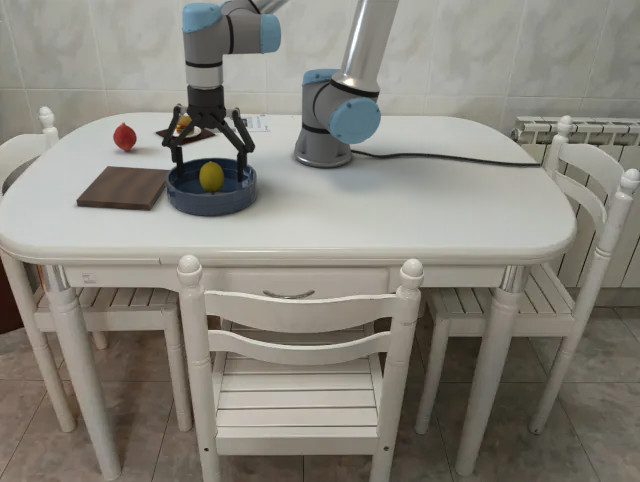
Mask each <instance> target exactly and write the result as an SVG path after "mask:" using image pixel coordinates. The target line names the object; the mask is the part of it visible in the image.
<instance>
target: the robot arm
mask: <svg viewBox="0 0 640 482" xmlns="http://www.w3.org/2000/svg"><path fill="white" fill-rule="evenodd" d="M290 1H291V0H224V1H223V2H222V3H220V4H219V5H218V4H217V3H211V2H192V3H188V4H185V5H184V6H183V8H182V10H181V13H182V15H181V17H182V19H181V20H182V21H181V23H182V28H181V31H182V39H183V47H184V48H183V52H184V62H185V63H184V64H185V65H184V66H185V80H186V84H187V86H186V93H187V106H184V105H182V104H181V103H177V104H176V105H175V106H174V107H173V110H172V118H171V119H170V120H171V121H170V123H169V126H168V127H167V129H168V130H167V132H166V134H165V136H164V137H163V139H162V141H161V146H162V147H163V148H168V149H169V150H170V154H171V162H172V163H173V164H176V165H175V166H177V176H178V178H181V177H182V176H183V174H184V166H183V163H184V156H183V146H182V145H181V146H179V144H180V143H181V142H182V141H183V139H184V138H185V137H186V136H187V135H188V134H189V132H190V131H191V130H192V129H193V128H194V127H195V126H197V127H199V128H200V129H207V130H215V129H217V130H218V131H219V132H220V133H222V135H223V136H224V137H225V138H226V139H227V140H228V141H229V143H230V144H231V145H232V146H233V147H234V149H236V150H237V154H236V160H237V178H238V182H241V181H242V179H243V168H246V165H247V164H248V154H253V153H254V151H255V150H256V144H255V142H254V140H253V139H252V136H251V135H250V133H249V131H248V128H247V126H246V125H245V122H244V121H243V119H242V116H241V110H240V108H239V107H237V106H236V107H234V108H231V109H230V108H229V109H227V108H226V105H225V88H224V85H223V84H224V82H225V81H224V55H225V56H226V55H228V56H229V55H254V54H256V55H259V54H261V55H264V54H270V53H277V51H278V50H279V49H280V46H281V44H282V28H281V23H280V20H279V18H278V17H277V15H275V13H277V12H278V11H279V10H280V9H282V8H283V7H284V6H285V5H286V4H288V3H289V2H290ZM399 3H400V0H357V3H356V7H355V11H354V15H353V19H352V22H351V26H350V30H349V34H348V37H347V42H346V46H345V50H344V54H343V58H342V61H341V66H340V68H315V69H309V70H307V71H305V72H304V74H303V75H302V76H303V77H302V84H301V87H302V91H301V129H300V131H299V135H298V138H297V140H296V142H295V144H294V145H295V146H294V151H293V154H294V159H295V160H296V161H297V162H299V163H301V164H303V165H305V166H309V167H313V168H320V169H323V168H324V169H327V168H329V169H330V168H336V167H340V166H344V165H346V164H347V163H349V162H350V161H351V158H352V154H356V155H361V156H367V157H369V158H374V159H389V158H396V157H428V158H440V159H450V160H458V161H467V162H474V163H481V164H482V163H483V164H489V165H490V164H491V165H500V166H508V167H509V166H510V167H541V166H542V165H541V163H540V162H537V163H536V162H534V163H533V162H509V161H497V160H490V159H489V160H488V159H482V158H481V159H480V158H472V157H465V156H457V155H448V154H439V153H425V152H424V153H423V152H399V153H398V152H397V153H389V154H374V153H369V152H366V151H361V150H357V149H356V150H355V149H351V145H357V144H361V143H364V142H365V141H367V140H368V139H370V138H371V137H372V136H373V135H374V134H375V133H376V132H377V130H378V128H379V127H380V124H381V120H382V119H381V118H382V113H381V110H380V107H379V105H378V99H379V96H380V92H381V87H380V85H379V83H378V81H377V80H378V77H379V76H378V75H379V72H380V68H381V66H382V62H383V59H384V55H385V51H386V47H387V44H388V41H389V38H390V34H391V30H392V27H393V24H394V20H395V16H396V14H397V10H398V7H399ZM185 113H186V115H187V116H189V117H190V118H191V119H192V121H191V122H190V123H189V124H188V125H187V127H186V128H185V129H184V130H183V131H182V132H181V134H180V135H179V136H178V137H177V138H176V139H175V141H172V140H171V138H172V136H173V134H174V131H175V129H176V127H177V125H178V122H179V120H180V118H181V116H185ZM226 116H227V117H229V119H230V121H232V122H233V124H234V127H235V128H236V130H237V132H238V134H239V136H240V137H239V136H238V134H236V133H235V131H234V130H233V129H232V128H231V127H230V125H229V123H228V122H227V121H226V120H225V118H226Z"/></svg>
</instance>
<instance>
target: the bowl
mask: <svg viewBox="0 0 640 482" xmlns="http://www.w3.org/2000/svg"><path fill="white" fill-rule="evenodd" d="M210 161H212V162H214V163H216V164H218V165H219V166H220V167H221V168H222V170H223V173H224V184H223V187H222V188H221V189H220V190H219V191H217V192H215V193H214V194H212V193H210V192H207V191H206V190H204V189H203V188H202V186H201V183H200V179H199V176H200V170H201V168H202V167H203V165H205V164H206V163H209V162H210ZM183 166H184V174H183V176H182V177H181V178H178V176H177V165H175V166H174V167H172V168H171V169H169V170H170V171H169V172H168V173H167V175H166V186H165V188H166V194H167V196H166V197H167V200H168V202H169V203H170V205H172V207H174V208H175V209H177V210H180V211H182V212H184V213H188V214H191V215H195V216H196V215H197V216H210V217H211V216H221V215H228V214H232V213H235V212H238V211H241V210H243V209H245V208H246V207H248V206H249V205H251V204H252V203H253V202H254V201H255V200H256V199H257V196H258V175H257V171H256V170H255V168H254V167H253V166H252V165H250V164H248V163H247V165H246V168H243V179H242V181H241V182H238V178H237V159H233V158H227V157H202V158H196V159H191V160H188V161H183Z"/></svg>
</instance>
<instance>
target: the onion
mask: <svg viewBox="0 0 640 482" xmlns="http://www.w3.org/2000/svg"><path fill="white" fill-rule="evenodd" d="M112 139H113V142H114V144H115V145H116V146H117V147H118V148H119V149H121V150H122V151H125V152H129V151H130V150H131V149H132V148H133V147H134V146H135V145H136V143H137V141H138V137H137V134H136V132H135V130H134V129H133V128H132V127H130V126H129V125H127V124H126V122H124V121H123V122H121V124H120V125H119V126H117V127H116V129H115V130H114V132H113V136H112Z"/></svg>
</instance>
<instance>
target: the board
mask: <svg viewBox="0 0 640 482" xmlns="http://www.w3.org/2000/svg"><path fill="white" fill-rule="evenodd" d="M170 170H171V169H163V168H162V169H160V168H146V167H144V168H143V167H132V166H131V167H130V166H129V167H128V166H115V165H114V166H111V165H107V166H106V167H105V168H104V169H103V171H102V172H100V174H99V175H97V177H96V178H94V180H93V181H92V182H91V184H89V186H87V188H86V189H85V190H84V191H83V192H82V193H81V194H80V195H79V197H77V199H76V200H75V201H76V205H77V207H89V208H103V209H119V210H120V209H121V210H133V211H134V210H138V211H151V209H152V207H153V206H154V205H155V203H156V201H157V200H158V198H159V197H160V195H161V194H162V192H163V191H164V189H165V188H166V175H167V173H168V172H169V171H170Z"/></svg>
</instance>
